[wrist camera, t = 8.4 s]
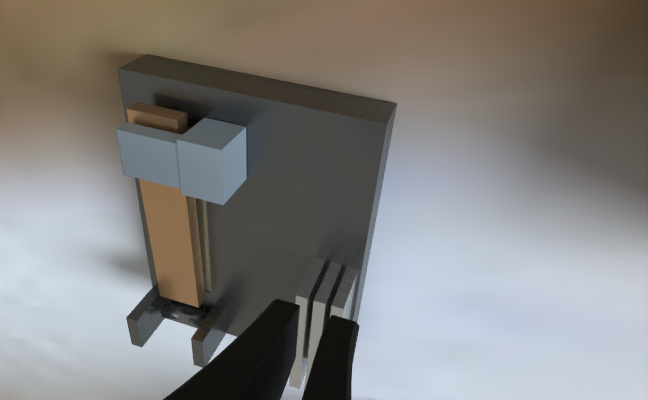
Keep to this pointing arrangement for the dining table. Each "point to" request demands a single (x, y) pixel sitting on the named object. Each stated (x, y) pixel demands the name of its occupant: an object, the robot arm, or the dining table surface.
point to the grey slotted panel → (273, 201)
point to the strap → (172, 227)
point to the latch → (187, 158)
